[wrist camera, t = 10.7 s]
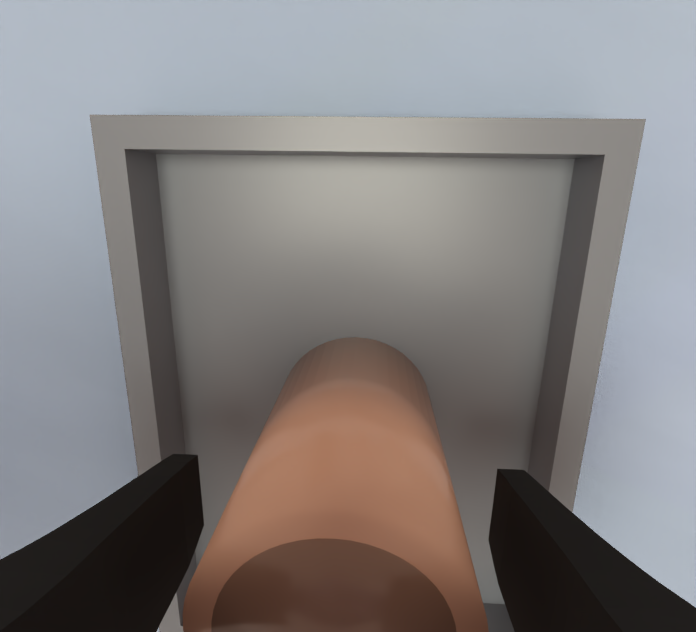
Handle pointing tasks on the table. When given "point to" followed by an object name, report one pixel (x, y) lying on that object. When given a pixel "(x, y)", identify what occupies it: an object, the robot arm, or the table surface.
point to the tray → (366, 283)
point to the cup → (342, 511)
